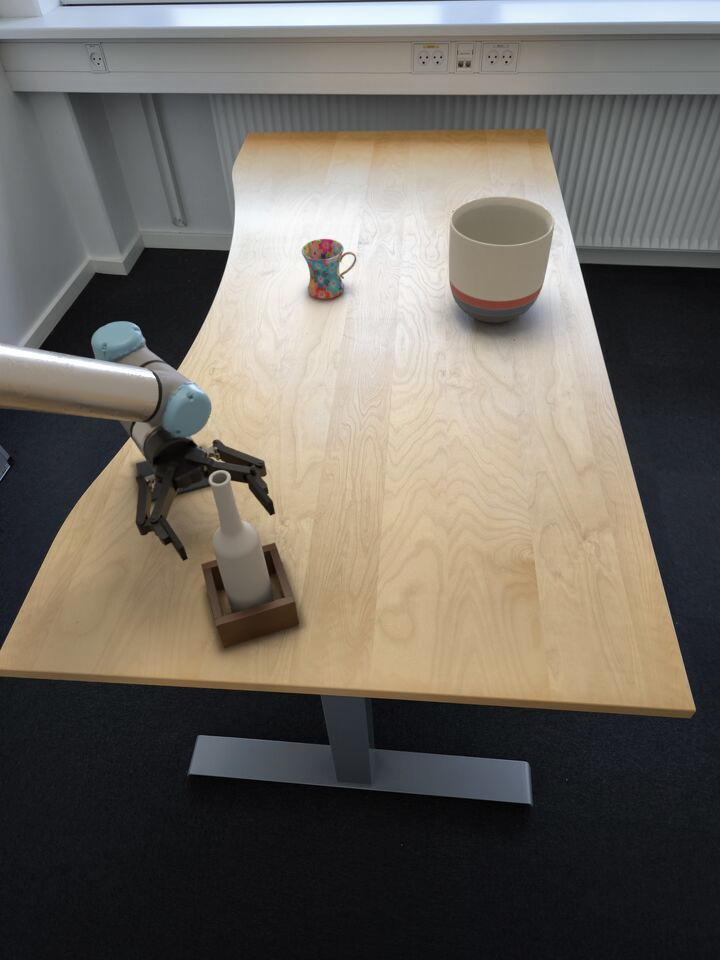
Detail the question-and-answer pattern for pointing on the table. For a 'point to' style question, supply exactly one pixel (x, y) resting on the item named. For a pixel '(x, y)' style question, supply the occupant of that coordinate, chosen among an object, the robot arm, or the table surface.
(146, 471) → the mat
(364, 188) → the table surface
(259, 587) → the bottle
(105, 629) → the table surface
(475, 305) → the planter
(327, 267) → the mug
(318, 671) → the table surface
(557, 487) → the table surface
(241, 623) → the holder
